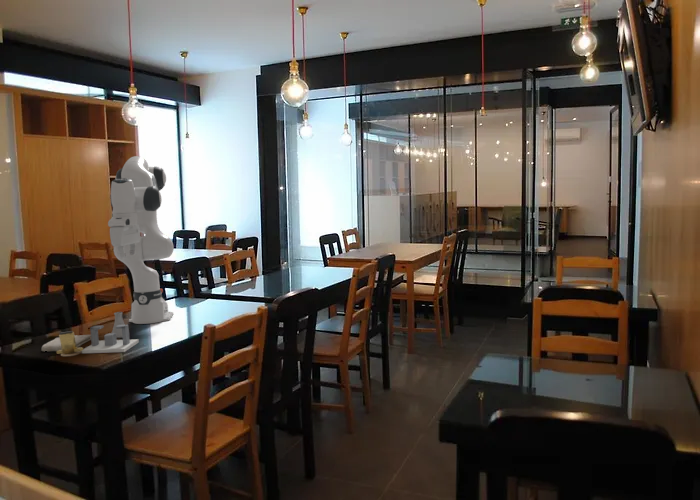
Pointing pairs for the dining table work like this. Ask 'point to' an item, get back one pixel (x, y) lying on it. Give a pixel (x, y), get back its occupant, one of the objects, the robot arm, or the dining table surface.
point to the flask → (118, 322)
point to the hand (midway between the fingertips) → (127, 256)
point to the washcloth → (56, 343)
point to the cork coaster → (71, 353)
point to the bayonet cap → (68, 343)
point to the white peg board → (110, 341)
